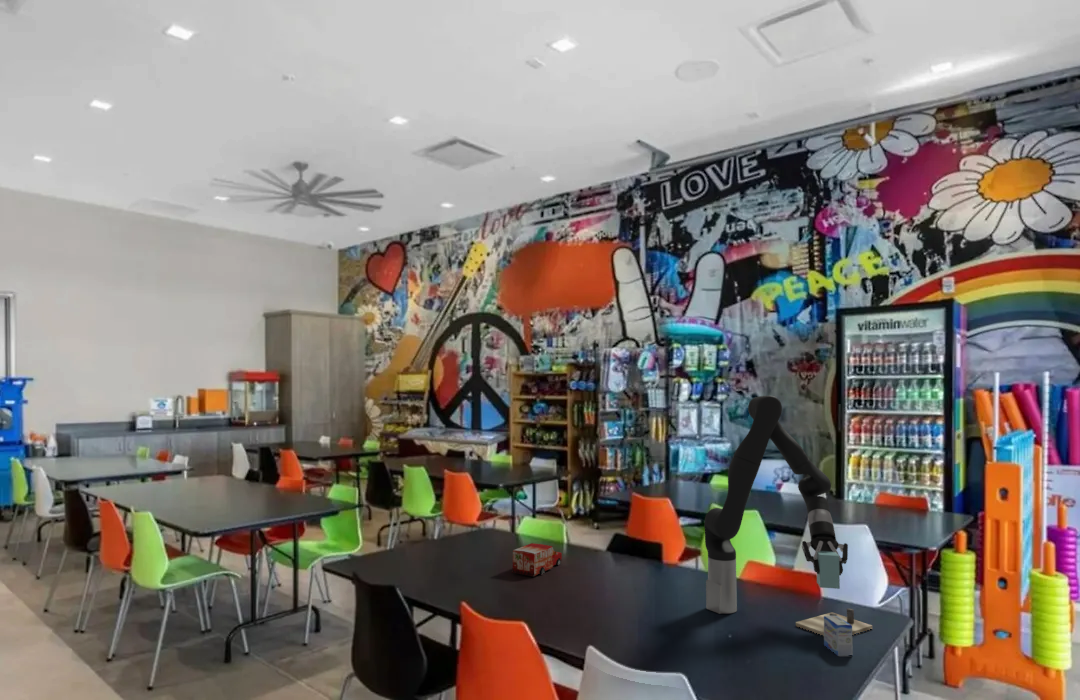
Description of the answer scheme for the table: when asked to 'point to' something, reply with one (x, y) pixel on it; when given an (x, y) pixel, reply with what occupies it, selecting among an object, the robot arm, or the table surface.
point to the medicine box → (838, 635)
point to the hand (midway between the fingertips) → (829, 573)
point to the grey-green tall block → (828, 569)
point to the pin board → (820, 624)
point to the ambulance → (535, 559)
